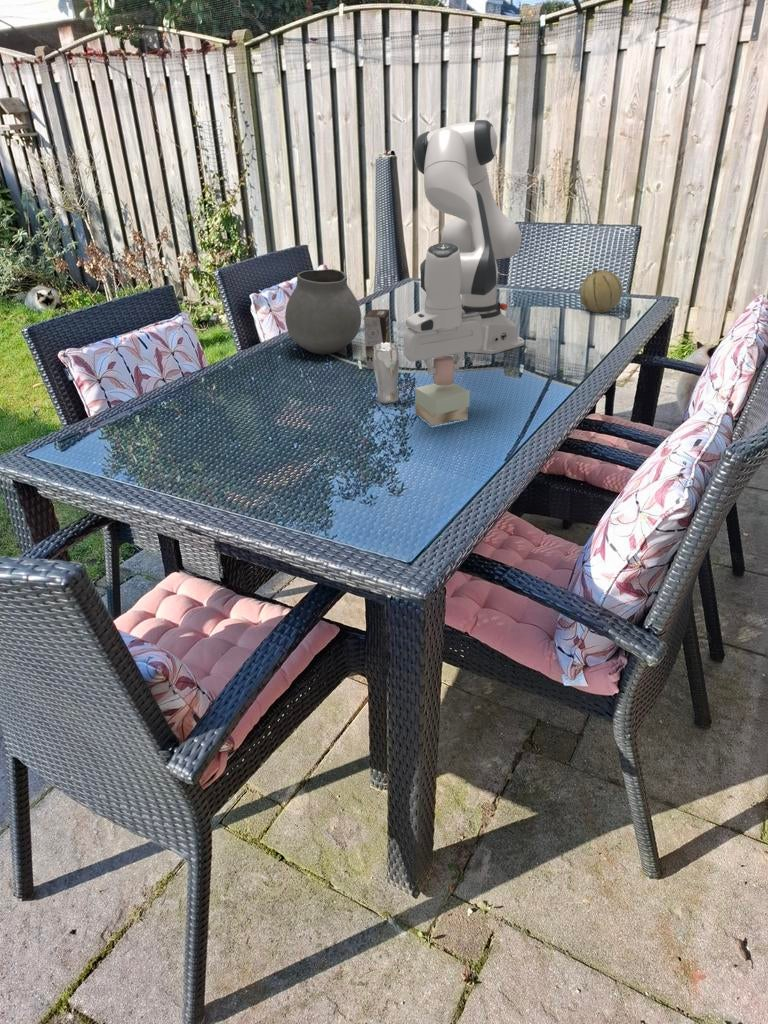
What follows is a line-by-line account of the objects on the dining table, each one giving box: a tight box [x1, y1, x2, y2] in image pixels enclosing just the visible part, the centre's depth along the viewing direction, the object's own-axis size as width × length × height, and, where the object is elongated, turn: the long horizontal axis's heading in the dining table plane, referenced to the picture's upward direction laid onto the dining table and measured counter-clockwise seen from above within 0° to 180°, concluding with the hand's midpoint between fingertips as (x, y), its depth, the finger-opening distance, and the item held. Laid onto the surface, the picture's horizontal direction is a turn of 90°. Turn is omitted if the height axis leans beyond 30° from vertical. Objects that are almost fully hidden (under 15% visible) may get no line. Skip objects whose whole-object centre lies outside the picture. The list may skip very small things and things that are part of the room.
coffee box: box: [363, 309, 392, 370], centre depth 214 cm, size 9×6×16 cm
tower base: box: [414, 401, 469, 426], centre depth 180 cm, size 10×10×4 cm
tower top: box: [414, 382, 471, 415], centre depth 177 cm, size 10×10×4 cm
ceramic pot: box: [284, 268, 362, 355], centre depth 226 cm, size 24×24×25 cm
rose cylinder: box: [432, 355, 455, 386], centre depth 174 cm, size 5×5×6 cm
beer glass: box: [373, 342, 400, 405], centre depth 189 cm, size 7×7×15 cm
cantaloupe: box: [579, 269, 623, 314], centre depth 253 cm, size 15×15×15 cm
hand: (443, 372), depth 174 cm, fingers closed on rose cylinder, 5 cm apart
